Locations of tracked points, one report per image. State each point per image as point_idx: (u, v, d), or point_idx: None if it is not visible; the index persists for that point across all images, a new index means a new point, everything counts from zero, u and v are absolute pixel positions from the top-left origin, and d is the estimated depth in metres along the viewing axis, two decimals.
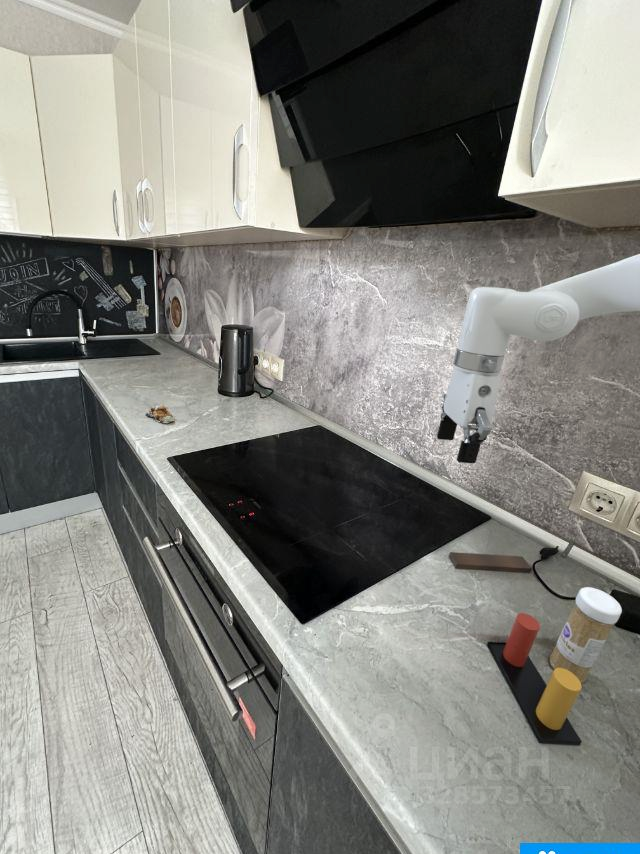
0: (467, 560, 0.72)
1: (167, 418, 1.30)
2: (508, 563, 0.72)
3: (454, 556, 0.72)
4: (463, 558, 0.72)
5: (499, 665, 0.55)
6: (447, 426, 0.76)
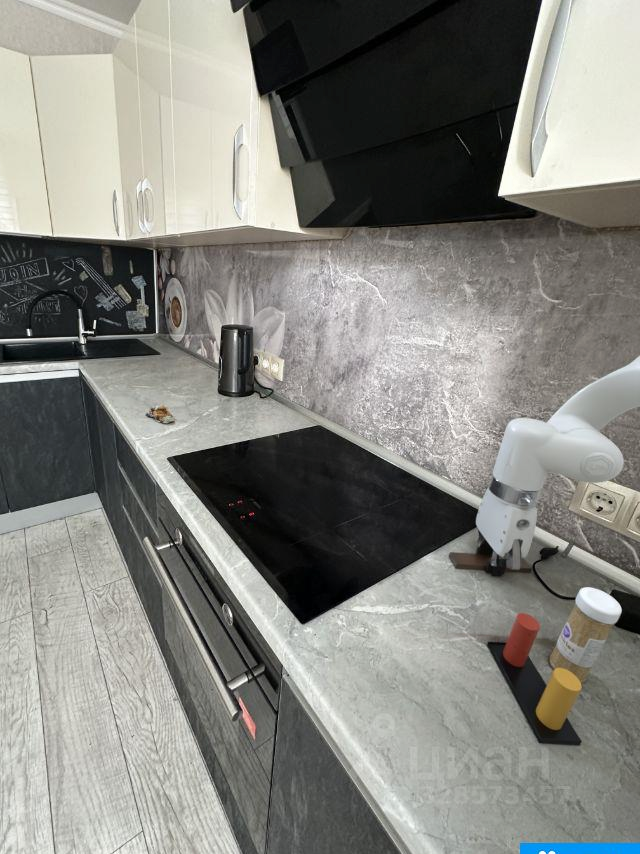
0: (467, 560, 0.72)
1: (167, 418, 1.30)
2: None
3: (454, 556, 0.72)
4: (463, 558, 0.72)
5: (499, 665, 0.55)
6: None
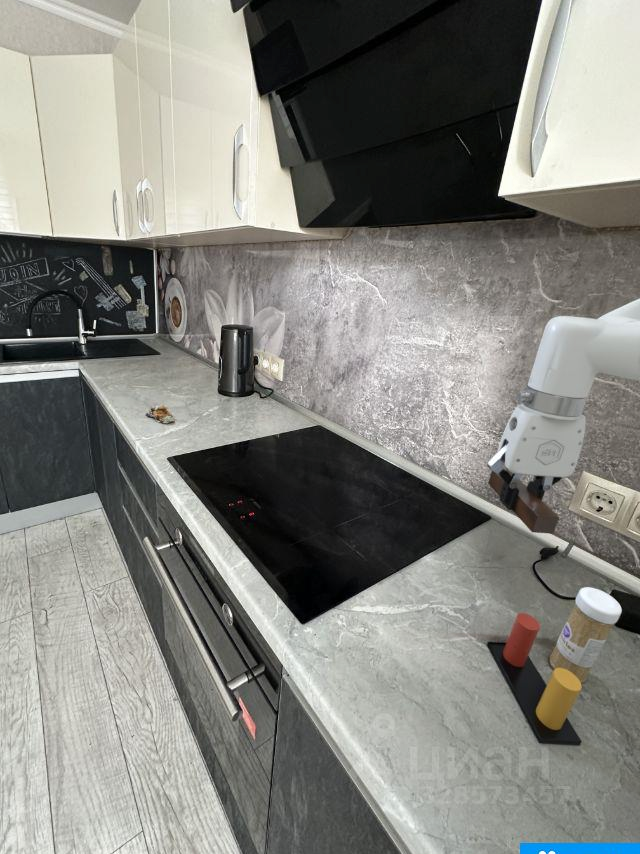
0: None
1: (167, 418, 1.30)
2: (529, 501, 0.60)
3: None
4: None
5: (499, 665, 0.55)
6: (531, 490, 0.63)
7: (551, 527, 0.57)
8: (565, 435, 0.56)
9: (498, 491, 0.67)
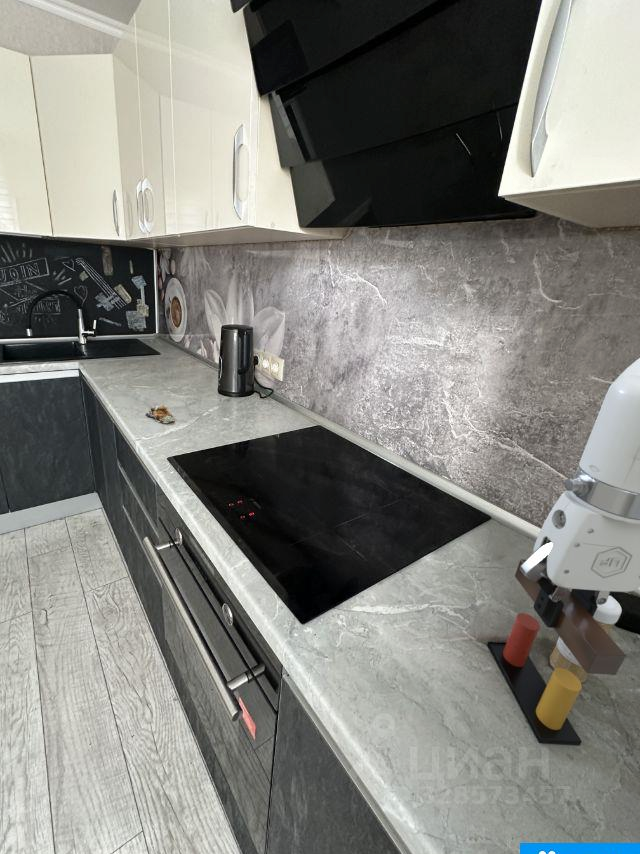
0: None
1: (167, 418, 1.30)
2: (579, 621, 0.44)
3: None
4: None
5: (499, 665, 0.55)
6: (577, 599, 0.47)
7: (613, 667, 0.41)
8: (634, 541, 0.40)
9: (530, 593, 0.51)
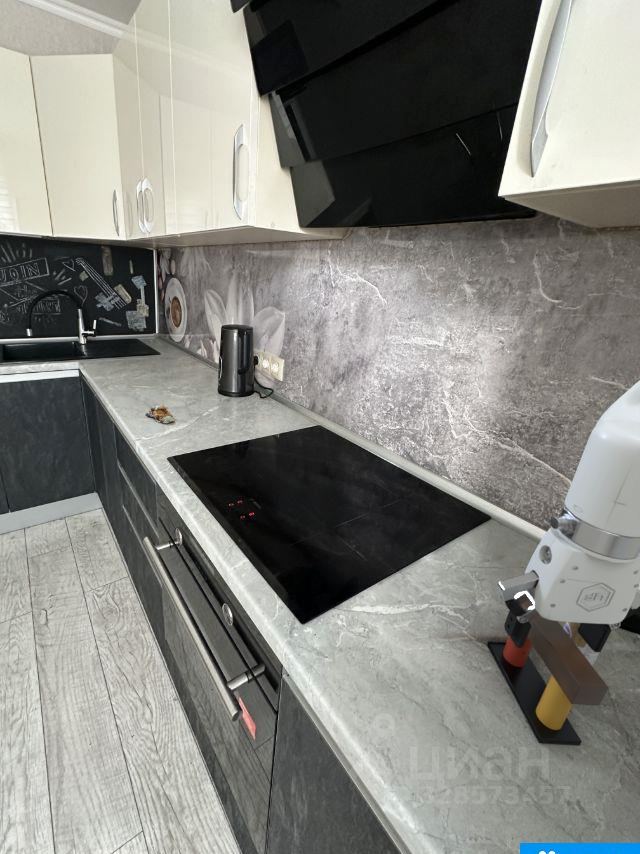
0: (528, 601, 0.53)
1: (167, 418, 1.30)
2: (565, 653, 0.46)
3: None
4: None
5: (499, 665, 0.55)
6: (591, 622, 0.49)
7: (597, 699, 0.43)
8: (617, 577, 0.42)
9: None
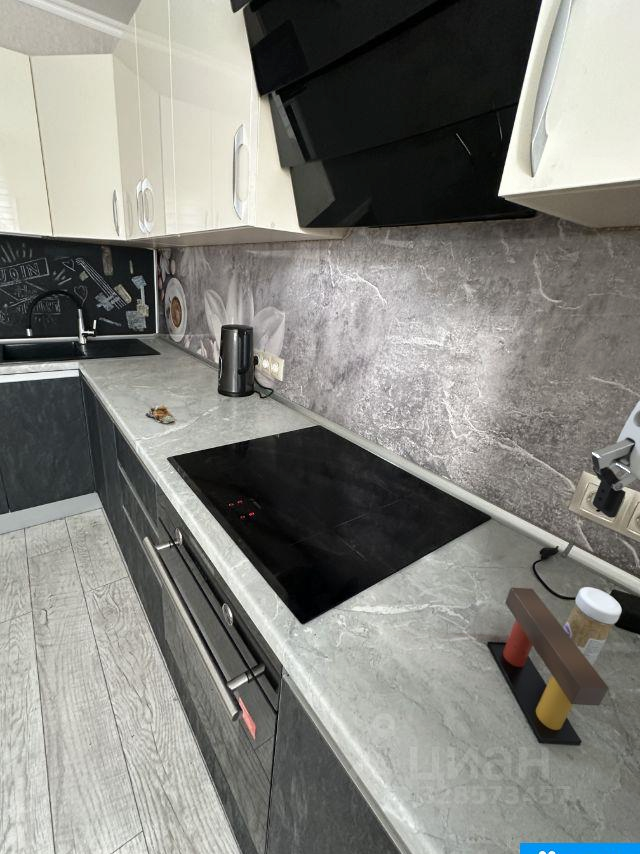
0: (528, 601, 0.53)
1: (167, 418, 1.30)
2: (565, 653, 0.46)
3: (525, 590, 0.55)
4: (529, 598, 0.53)
5: (499, 665, 0.55)
6: None
7: (597, 699, 0.43)
8: None
9: (520, 621, 0.53)
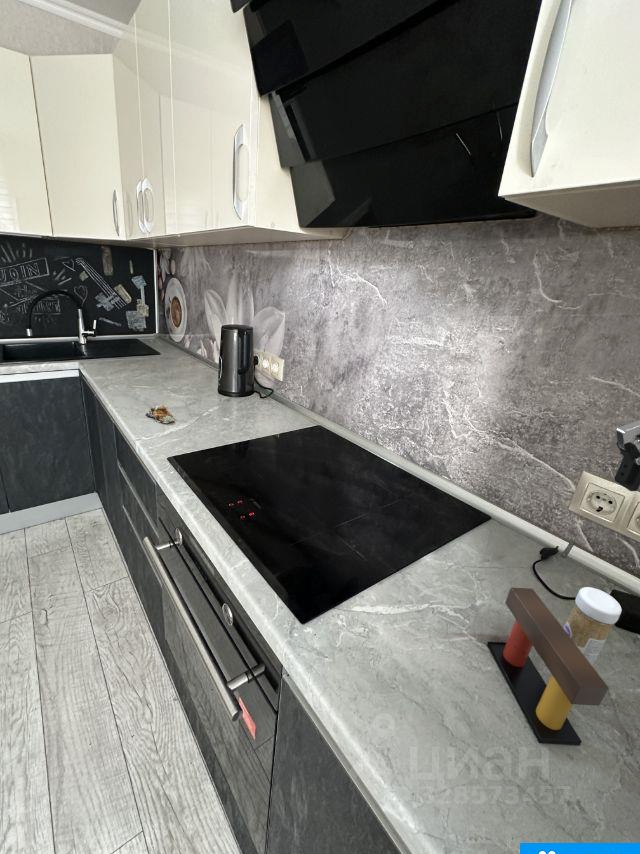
0: (528, 601, 0.53)
1: (167, 418, 1.30)
2: (565, 653, 0.46)
3: (525, 590, 0.55)
4: (529, 598, 0.53)
5: (499, 665, 0.55)
6: None
7: (597, 699, 0.43)
8: None
9: (520, 621, 0.53)
